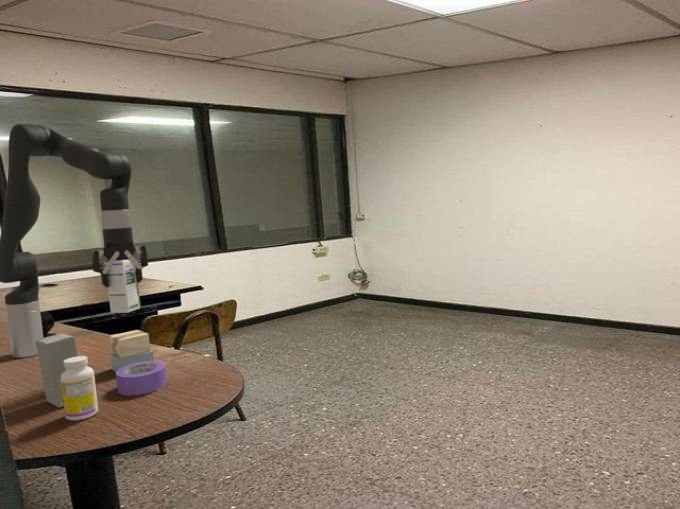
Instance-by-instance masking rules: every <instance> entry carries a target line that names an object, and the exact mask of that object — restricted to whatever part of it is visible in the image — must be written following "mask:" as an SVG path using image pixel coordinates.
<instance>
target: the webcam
mask: <svg viewBox="0 0 680 509" xmlns="http://www.w3.org/2000/svg"><path fill="white" fill-rule="evenodd" d="M40 314H41V323H42V331H43V338H45V337H49V336H53V335H57V334H58V333H49V332H51V330H52V328H54V326H55V324H56V323H55V318H54V317H53V315H52V314H51V313H50V312H47V311H42V312H40Z"/></svg>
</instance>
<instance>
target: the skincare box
mask: <svg viewBox="0 0 680 509" xmlns="http://www.w3.org/2000/svg"><path fill="white" fill-rule="evenodd" d="M56 334H57V335H53V336H49V337H45V338H41V339H37V340H35V341H36V347H37V352H38V355H37V357H38V363H39V367H40V372H41V378H42V383H43V390H44V394H45V398H46V399H45V400H46V402H48V403H49V404H51V405H52V406H54V407H56V408H62V407H64V404H63V395H62V387H61V379H60V377H61V375H62V373H63V372H65V371H66V368H65V367H64V360H66V359H68V358H72V357H77V356H79V355H78V350H77V344H76V340H75V336H74V335H70V334H66V333H64V332H62V333H56Z"/></svg>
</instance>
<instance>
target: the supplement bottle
mask: <svg viewBox="0 0 680 509" xmlns="http://www.w3.org/2000/svg"><path fill="white" fill-rule="evenodd" d="M88 362H89V360H88V357H87V356H86V355H78V356H77V357H72V358H68V359H66V360H64V367H65V368H66V371H65V372H63V373H62V375H61V377H60V379H61V387H62V395H63V404H64V406H63V409H64V416H65V419H66V420H69V421H81V420H86V419H88V418H91V417H92V416H95V415H96V414H97V413H98V412H99V404H98V396H97V387H96V378H95V371H94V369H93V368H92V367H90V366H88Z"/></svg>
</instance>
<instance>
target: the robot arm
mask: <svg viewBox="0 0 680 509" xmlns="http://www.w3.org/2000/svg"><path fill="white" fill-rule="evenodd" d="M8 136H9V137H8V170H7V183H6V190H5V196H4V203H3V204H4V205H3V213H2V214H3V215H2V224H1V225H2V226H1V231H0V283H2V284H11V283H16V282H19V285H18V286H17V287H16V288H15V289H14V290H12V291H11V292H9V293H7V294H6V295H5V296H4V304H5V310H6V312H5V313H6V317H7V318H6V319H7V326H8V333H9V334H8V335H9V342H10V350H11V357H12V358H15V359H16V358H17V359H19V358H28V357H29V358H30V357H33V356H38V352H37V347H36V341H35V340H37V339H41V338H43V331H42V323H41V314H40V313H41V309H40V300H39V299H40V298H39V293H40V284H39V270H38V269H39V268H38V262H37V258H36V257H35V255H34V254H33V253H32V252H30V251H21V252H17V249H18V247H19V245H20V243H21V242H22V241H23V239H24V238H25V236H26V235H27V234H28V233H29V232H30V231H31V229H32V228H33V227H34V226H35V224H36V223H37V222H38V219H39V214H40V207H41V196H40V193H39V191H38V189H37V186H36V185H35V184H34V182H33V180H32V178H31V176H30V172H29V170H30V168H29V162H30V158H31V157H46V156H47V157H48V156H49V157H59V158H61V159H62V161H64V162H65V163H66V164H68V165H69V166H71V167H73V168H76V169H79V170H81V171H84V172H86V173H87V174H88V175H89V176H92V178H96V179H101V180H111V182H110V186H109V187H107V188H104V189H102V190H101V191H100V193H99V200H100V209H101V212H100V213H101V216H100V218H101V228H102V229H101V230H102V231H101V232H102V238H103V249H102V250H101V249H93V250H92V251H91V262H92V263H91V264H92V272H94V273H98V274H100V278H101V285H102V286H104V287H105V288H107V289H108V287H109V277H108V274H107V272H108V270H109V268H110V267H111V266H112V265H113V263H114V261H115V260H126V259H130V260H131V261H132V263H133V264H134V265H135V266H136V271H137V280H138V284H139V283H141V282H142V281H143V268H146V267H148V266H149V260H148V255H147V254H148V253H147V247H146V246H145V245H143V244H141V245H139V246H135V245H134V237H133V222H132V218H131V213H130V207H129V206H130V204H129V197H128V195H129V191H130V190H129V189H130V184H131V180H132V170H133V169H132V164H131V161H130V160H129V158H128V157H127V156H126V155H125V154H122V153H112V152H108V153H107V152H102V151H100V150H99V148H96V147H93V146H91V145H87V144H86V143H82V142H78V141H75V140H73V139H70V138H68V137H67V136H64V135H63V134H60V133H59V132H57V131H56V130H54V129H53V128H50V127H48V126H46V125H42V124H28V123H17V124H14V125H13V126H12V127H11V130H10V132H9V135H8ZM136 252H137V254H139V259H140V262H139V261H138V260H137V259H136V258H135V257H134V254H135V253H136ZM103 255H104V256H105V258H106V259H105V261H104V263H103V264H102V265H101V264H100V259H101V258H102V256H103ZM105 262H106V263H105ZM100 265H101V266H102V267H101V266H100ZM100 267H101V268H100Z"/></svg>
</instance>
